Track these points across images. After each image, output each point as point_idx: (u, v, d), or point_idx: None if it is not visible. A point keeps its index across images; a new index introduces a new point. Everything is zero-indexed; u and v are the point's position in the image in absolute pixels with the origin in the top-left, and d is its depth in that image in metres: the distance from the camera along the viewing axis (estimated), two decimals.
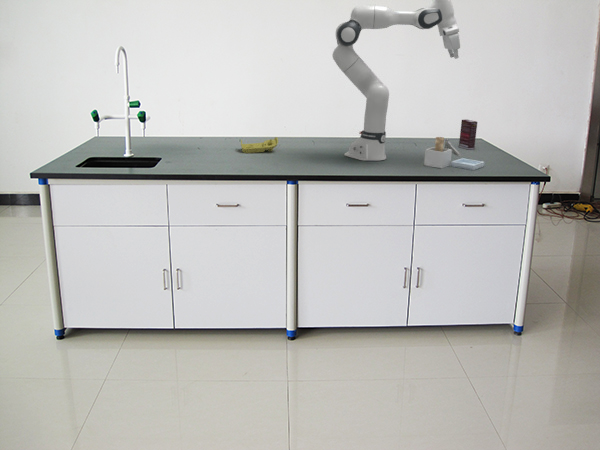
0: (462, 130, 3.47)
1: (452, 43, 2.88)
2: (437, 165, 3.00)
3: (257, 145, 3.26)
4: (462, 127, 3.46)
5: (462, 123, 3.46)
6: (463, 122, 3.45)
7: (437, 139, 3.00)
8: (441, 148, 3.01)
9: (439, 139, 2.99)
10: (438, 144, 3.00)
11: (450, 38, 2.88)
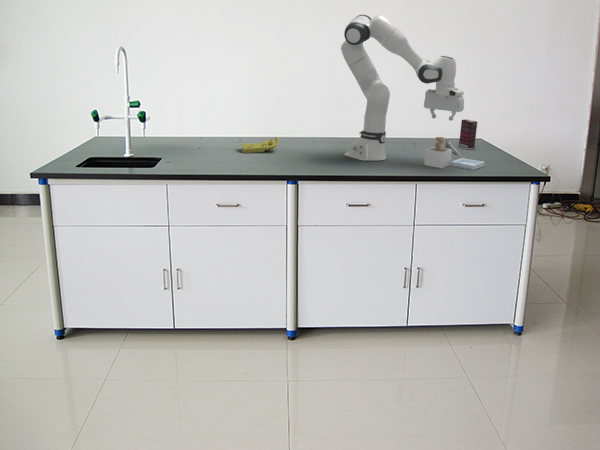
0: (462, 130, 3.47)
1: (460, 105, 2.88)
2: (437, 165, 3.00)
3: (257, 145, 3.26)
4: (462, 127, 3.46)
5: (462, 123, 3.46)
6: (463, 122, 3.45)
7: (437, 139, 3.00)
8: (441, 148, 3.01)
9: (439, 139, 2.99)
10: (438, 144, 3.00)
11: (460, 99, 2.87)
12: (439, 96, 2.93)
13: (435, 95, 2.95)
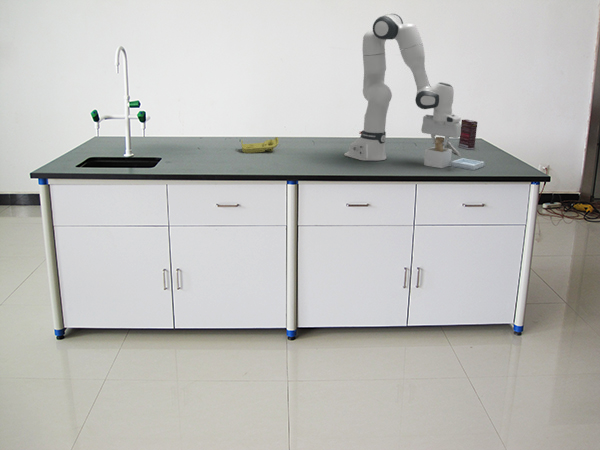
0: (462, 130, 3.47)
1: (457, 131, 2.92)
2: (437, 165, 3.00)
3: (257, 145, 3.26)
4: (462, 127, 3.46)
5: (462, 123, 3.46)
6: (463, 122, 3.45)
7: (437, 139, 3.00)
8: (441, 148, 3.01)
9: (439, 139, 2.99)
10: (438, 144, 3.00)
11: (457, 126, 2.91)
12: (436, 122, 2.97)
13: (432, 121, 2.99)
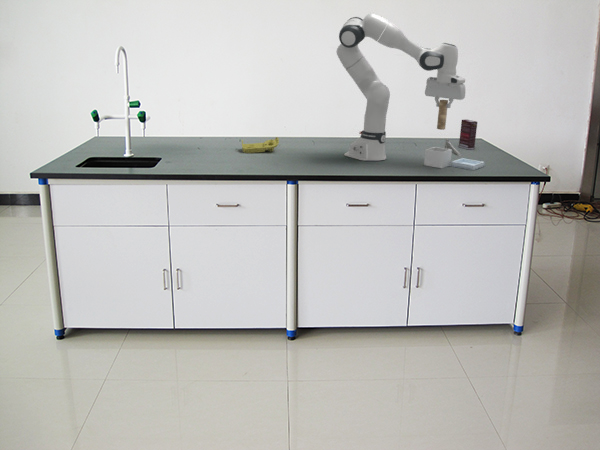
0: (462, 130, 3.47)
1: (462, 92, 2.86)
2: (437, 165, 3.00)
3: (258, 145, 3.26)
4: (462, 127, 3.46)
5: (462, 123, 3.46)
6: (463, 122, 3.45)
7: (441, 101, 2.94)
8: (445, 111, 2.95)
9: (443, 101, 2.93)
10: (442, 106, 2.94)
11: (461, 87, 2.85)
12: (440, 84, 2.91)
13: (436, 83, 2.93)
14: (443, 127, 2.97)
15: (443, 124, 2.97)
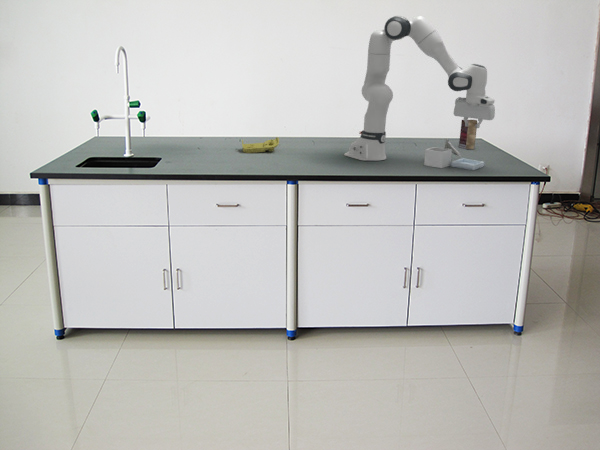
0: (462, 130, 3.47)
1: (491, 113, 2.88)
2: (437, 165, 3.00)
3: (258, 145, 3.26)
4: (462, 127, 3.46)
5: (462, 123, 3.46)
6: (463, 122, 3.45)
7: (470, 122, 2.96)
8: (474, 131, 2.97)
9: (472, 122, 2.95)
10: (471, 126, 2.96)
11: (491, 108, 2.87)
12: (470, 104, 2.93)
13: (465, 103, 2.95)
14: (472, 147, 2.99)
15: (472, 144, 2.99)
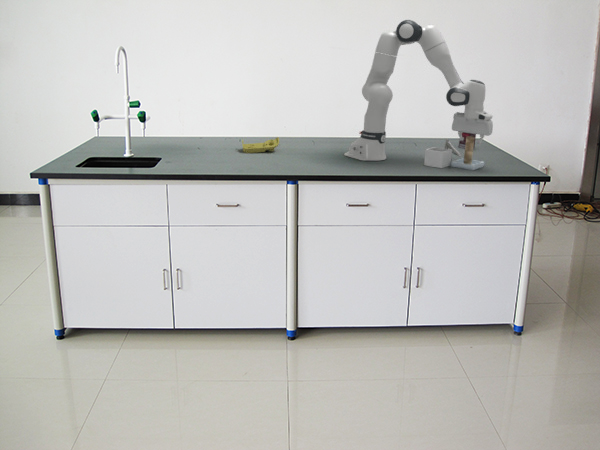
0: None
1: (489, 129, 2.91)
2: (437, 165, 3.00)
3: (258, 145, 3.26)
4: None
5: None
6: None
7: (468, 138, 2.99)
8: (472, 147, 3.00)
9: (470, 138, 2.98)
10: (469, 143, 2.99)
11: (489, 123, 2.90)
12: (468, 119, 2.95)
13: (464, 118, 2.98)
14: (469, 163, 3.02)
15: (469, 160, 3.02)
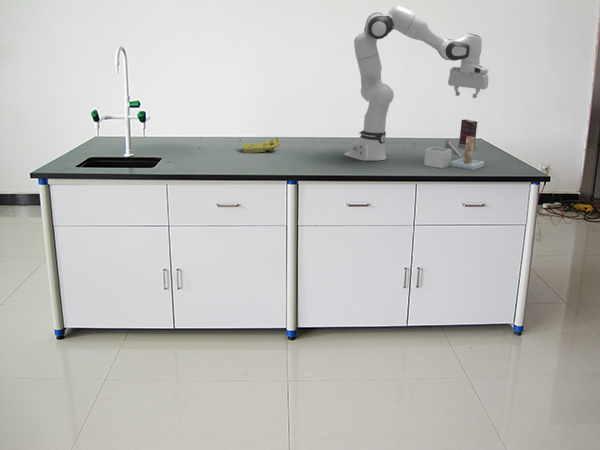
0: (462, 130, 3.47)
1: (485, 82, 2.93)
2: (437, 165, 3.00)
3: (258, 145, 3.26)
4: (462, 127, 3.46)
5: (462, 123, 3.46)
6: (463, 122, 3.45)
7: (468, 138, 2.99)
8: (472, 148, 3.00)
9: (470, 138, 2.98)
10: (469, 143, 2.99)
11: (484, 77, 2.92)
12: (464, 73, 2.97)
13: (460, 72, 3.00)
14: (469, 163, 3.02)
15: (470, 160, 3.02)
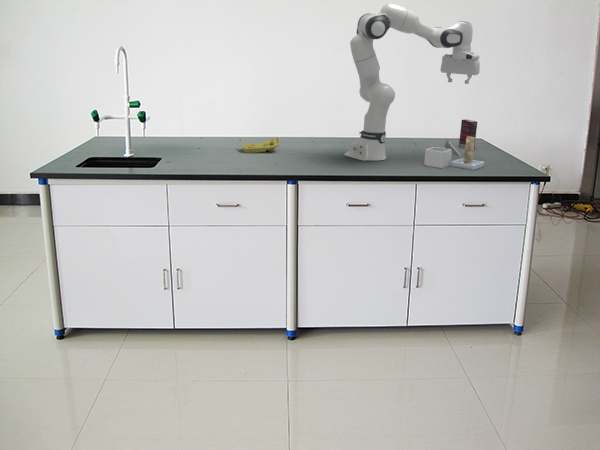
0: (462, 130, 3.47)
1: (476, 68, 3.00)
2: (437, 165, 3.00)
3: (259, 145, 3.26)
4: (462, 127, 3.46)
5: (462, 123, 3.46)
6: (463, 122, 3.45)
7: (468, 138, 2.99)
8: (472, 147, 3.00)
9: (470, 138, 2.98)
10: (469, 143, 2.99)
11: (476, 63, 3.00)
12: (456, 60, 3.05)
13: (452, 59, 3.07)
14: (470, 163, 3.02)
15: (470, 160, 3.02)
